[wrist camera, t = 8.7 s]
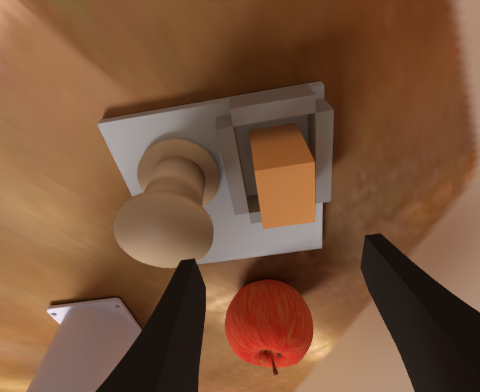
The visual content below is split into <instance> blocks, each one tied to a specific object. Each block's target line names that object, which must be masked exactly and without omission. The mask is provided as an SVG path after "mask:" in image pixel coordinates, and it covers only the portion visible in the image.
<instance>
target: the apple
mask: <svg viewBox="0 0 480 392" xmlns="http://www.w3.org/2000/svg"><path fill="white" fill-rule="evenodd" d="M225 332H226V336H227V339H228V342H229V345H230V347H231V348H232V350H233V351H234V353H235V354H236V355H237V356H238V357H239V358H241V359H242V360H244V361H246V362H248V363H251V364H255V365H259V366H264V367H273V373H274V375H277V374H278V371H277V369H276V367H287V366H292V365H295V364H297V363H298V362H299V361H300V360H301V359H302V358H303V357H304V355H305V354H306V352H307V351H308V349H309V347H310V345H311V342H312V338H313V321H312V316H311V313H310V310H309V308H308V306H307V304H306V302H305V300H304V299H303V297H302V296H301V295H300V294H299V292H298V291H297V290H296V289H294V288H293V287H292V286H290V285H288V284H287V283H284V282H281V281H277V280H271V279H265V280H261V281H257V282H253V283H250V284H248V285H246V286H244V287H243V288H242V289H240V290H239V291H238V293H237V294H236V295H235V297H234V298H233V300H232V301H231V303H230V305H229V307H228V310H227V313H226V319H225Z"/></svg>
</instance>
